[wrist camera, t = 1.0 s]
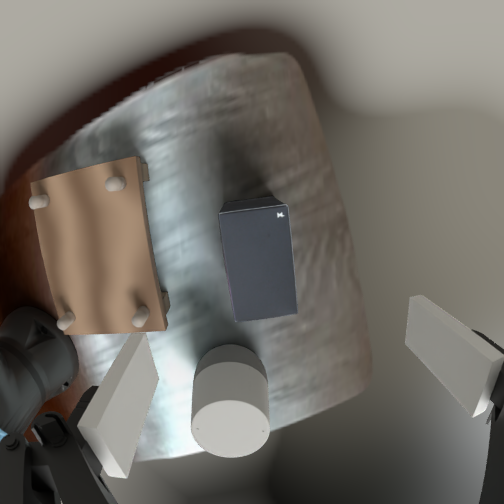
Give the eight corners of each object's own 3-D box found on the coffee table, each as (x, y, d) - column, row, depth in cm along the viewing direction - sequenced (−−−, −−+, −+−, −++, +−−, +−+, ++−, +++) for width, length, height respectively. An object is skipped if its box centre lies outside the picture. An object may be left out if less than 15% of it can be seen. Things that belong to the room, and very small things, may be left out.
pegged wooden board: (83, 315, 38) (55, 344, 30) (55, 181, 34) (18, 183, 26) (174, 309, 39) (161, 341, 30) (151, 159, 34) (127, 154, 26)
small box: (220, 202, 36) (214, 211, 26) (275, 194, 36) (291, 200, 26) (232, 287, 38) (232, 324, 28) (284, 279, 39) (301, 314, 28)
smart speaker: (267, 338, 40) (281, 407, 27) (261, 391, 42) (271, 462, 29) (196, 335, 40) (181, 403, 26) (197, 388, 42) (187, 459, 28)
